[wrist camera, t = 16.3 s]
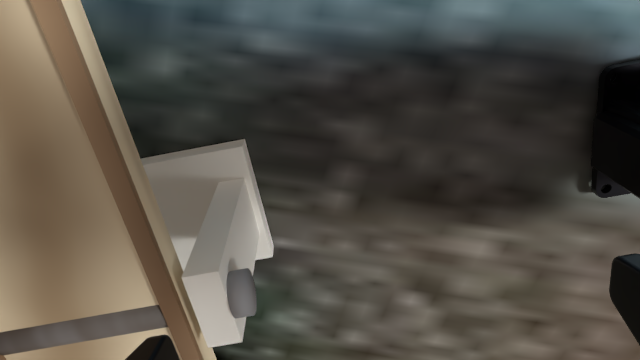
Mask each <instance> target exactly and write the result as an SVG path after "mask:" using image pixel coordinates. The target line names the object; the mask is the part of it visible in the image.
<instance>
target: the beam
mask: <svg viewBox="0 0 640 360" xmlns="http://www.w3.org/2000/svg"><path fill="white" fill-rule="evenodd" d="M182 275H183V269H182V267H181V264H180V262H179V259H178V256H177V254H176V251H175V248H174V246H173V243H172V240H171V238H170V235H169V233H168V230H167V227H166V225H165V222H164V219H163V217H162V214H161V212H160V209H159V206H158V204H157V201H156V198H155V196H154V193H153V190H152V188H151V185H150V183H149V180H148V177H147V175H146V172H145V169H144V167H143V164H142V162H141V159H140V156H139V154H138V151H137V148H136V146H135V143H134V140H133V138H132V135H131V133H130V130H129V127H128V125H127V122H126V119H125V117H124V114H123V112H122V109H121V106H120V104H119V101H118V98H117V96H116V93H115V90H114V88H113V85H112V83H111V80H110V77H109V75H108V72H107V69H106V67H105V64H104V62H103V59H102V56H101V54H100V51H99V48H98V46H97V43H96V40H95V38H94V35H93V33H92V30H91V27H90V25H89V22H88V19H87V17H86V14H85V12H84V9H83V6H82V4H81V1H80V0H0V360H125V359H126V358H127V357H128V356H129V355H130V354H131V353H132V352H133V351H134V350H135V349H136V348H137V347H138V346H139V345H140V344H141V343H142V342H143V341H144V340H146V339H147V338H149V337H152V336H158V335H164V334H165V335H168V336H169V337H170V338H171V340H172V342H173V344H174V347H175V349H176V351H177V354H178V356H179V358H180V360H217V359H216V356H215V354H214V351H213V348H212V347H210V348H208V346H207V343H206V341H205V338H204V336H203V333H202V330H201V328H200V325H199V323H198V320H197V317H196V315H195V312H194V310H193V307H192V304H191V302H190V299H189V297H188V294H187V291H186V289H185V286H184V284H183V281H182V278H181V277H182Z"/></svg>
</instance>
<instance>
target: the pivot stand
mask: <svg viewBox="0 0 640 360" xmlns="http://www.w3.org/2000/svg"><path fill="white" fill-rule="evenodd" d="M141 162H142V164H143V167H144V169H145V172H146V175H147V177H148V180H149V183H150V185H151V188H152V190H153V193H154V196H155V198H156V201H157V204H158V206H159V209H160V212H161V214H162V217H163V219H164V222H165V225H166V227H167V230H168V233H169V235H170V238H171V240H172V243H173V246H174V248H175V251H176V254H177V256H178V259H179V262H180V264H181V267H182V269H183V275H182V277H181V278H182V281H183V284H184V286H185V289H186V291H187V294H188V297H189V299H190V302H191V304H192V307H193V310H194V312H195V315H196V317H197V320H198V323H199V325H200V328H201V330H202V333H203V336H204V338H205V341H206V343H207V346H208V348H210V347H216V346H222V345H228V344H234V343H240V342H242V340H243V334H244V328H245V322H246V317H248V316H254V315H255V313H256V307H257V299H256V289H255V284H254V279H253V271H254V265H255V260H259V259H264V258H270V257H273V249H274V245H273V241H272V238H271V234H270V230H269V227H268V223H267V219H266V216H265V212H264V208H263V204H262V201H261V197H260V193H259V190H258V186H257V182H256V178H255V175H254V171H253V167H252V164H251V160H250V156H249V152H248V149H247V145H246V141H245V139H241V140H236V141H231V142H226V143H220V144H215V145H210V146H204V147H199V148H194V149H189V150H183V151H178V152H173V153H167V154H162V155H157V156H152V157H146V158H141Z"/></svg>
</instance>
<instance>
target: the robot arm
mask: <svg viewBox="0 0 640 360" xmlns="http://www.w3.org/2000/svg"><path fill="white" fill-rule="evenodd" d="M614 73H616V78H615V79H614V80H613V81H610V79H611V76H612V75H613V74H614ZM591 166H592V167H593V171H592V185H591V188H592V191H593V192H594V193H595V194H596V195H597V196H599V197H601V198H607V197H612V196H618V195H624V194H629V193H632V194H634V195H635V196H637V197H638V198H640V60H637V61H631V62H626V63H621V64H616V65H611V66H608V67H606V68H605V69H604V70H603V71H602V73H601V74H600V78H599V89H598V103H597V115H596V116H595V118H594V127H593V141H592V155H591ZM606 184H607V185H606ZM604 185H606V187H605V188H604V189H602V190H601V188H602V187H603V186H604ZM609 292H610V297H611V300H612V302H613V304H614V305H615V307H616V308H617V310H618V312H619V313H620V315H621V316H622V318H623V320H624V321H625V323H626V324H627V326H628V328H629V329H630V331H631V332H632V334H633V335H634V337H635V339H636V340H637V342H638V343H639V345H640V254H629V255H623V256H618V257H616V258H614V260H613V262H612V268H611V278H610V287H609ZM125 360H180V358H179V356H178V354H177V351H176V349H175V347H174V344H173V342H172V340H171V338H170V337H169V336H168V335H165V334H164V335H158V336H152V337H149V338H147V339H146V340H144V341H143V342H142V343H141V344H140V345H139V346H138V347H137V348H136V349H135V350H134V351H133V352H132V353H131V354H130V355H129V356H128V357H127V358H126V359H125Z"/></svg>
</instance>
